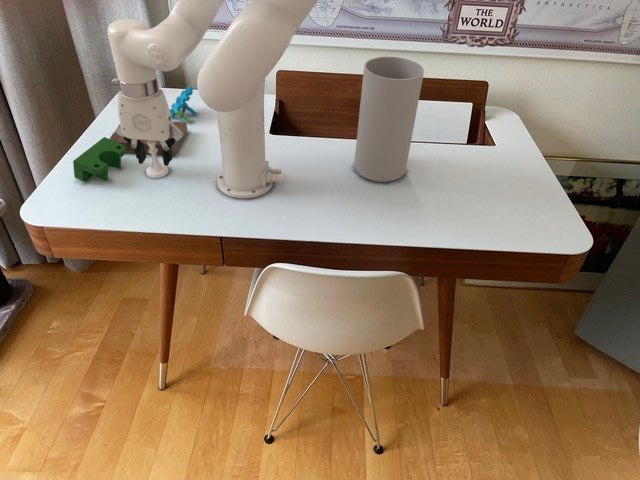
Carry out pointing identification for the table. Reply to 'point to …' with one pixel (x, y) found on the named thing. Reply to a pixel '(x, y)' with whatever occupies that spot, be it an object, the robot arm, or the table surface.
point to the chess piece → (155, 162)
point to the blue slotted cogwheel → (182, 105)
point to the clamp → (98, 160)
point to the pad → (174, 147)
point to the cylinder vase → (387, 117)
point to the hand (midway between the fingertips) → (155, 161)
